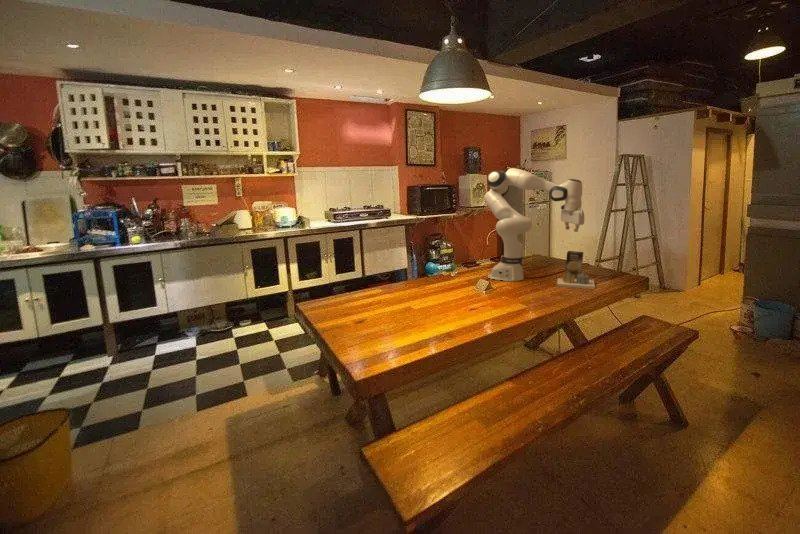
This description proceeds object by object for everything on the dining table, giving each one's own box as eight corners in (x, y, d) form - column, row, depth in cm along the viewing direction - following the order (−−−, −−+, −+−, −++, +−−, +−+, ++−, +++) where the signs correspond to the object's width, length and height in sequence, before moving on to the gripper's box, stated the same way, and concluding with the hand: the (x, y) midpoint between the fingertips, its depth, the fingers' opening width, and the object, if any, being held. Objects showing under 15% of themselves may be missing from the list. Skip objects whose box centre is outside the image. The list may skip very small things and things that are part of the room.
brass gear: (567, 283, 232) (567, 276, 230) (560, 281, 238) (560, 273, 237) (576, 282, 233) (577, 275, 232) (569, 279, 239) (569, 272, 238)
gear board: (557, 286, 233) (557, 274, 231) (557, 280, 244) (558, 269, 243) (594, 288, 225) (595, 277, 223) (593, 282, 237) (594, 271, 235)
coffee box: (564, 277, 251) (566, 252, 247) (566, 275, 256) (568, 250, 252) (580, 278, 246) (582, 253, 242) (581, 276, 251) (583, 251, 248)
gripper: (588, 208, 223) (586, 232, 226) (569, 205, 243) (567, 228, 246) (577, 209, 222) (576, 233, 226) (559, 206, 242) (558, 228, 245)
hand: (571, 230), depth 236 cm, fingers open, 8 cm apart
